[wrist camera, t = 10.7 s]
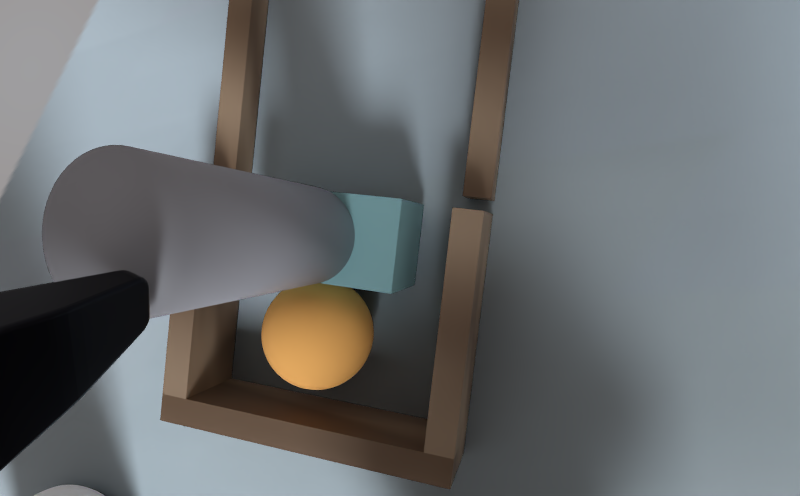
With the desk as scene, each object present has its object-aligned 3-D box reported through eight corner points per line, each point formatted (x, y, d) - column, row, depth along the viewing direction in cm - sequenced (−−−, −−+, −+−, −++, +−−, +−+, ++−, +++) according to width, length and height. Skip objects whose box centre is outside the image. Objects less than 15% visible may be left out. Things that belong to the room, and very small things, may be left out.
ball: (340, 384, 16) (372, 266, 18) (224, 361, 17) (265, 251, 19) (369, 410, 20) (394, 309, 22) (271, 389, 21) (302, 295, 23)
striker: (414, 287, 20) (253, 351, 9) (269, 266, 22) (-21, 298, 10) (424, 201, 20) (273, 158, 9) (277, 186, 21) (-9, 133, 10)
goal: (463, 453, 20) (450, 489, 17) (208, 397, 23) (160, 420, 20) (530, -93, 19) (527, -152, 16) (254, -83, 22) (211, -132, 19)
